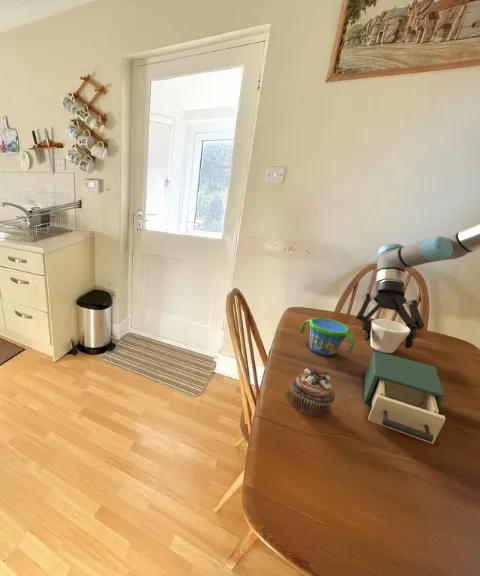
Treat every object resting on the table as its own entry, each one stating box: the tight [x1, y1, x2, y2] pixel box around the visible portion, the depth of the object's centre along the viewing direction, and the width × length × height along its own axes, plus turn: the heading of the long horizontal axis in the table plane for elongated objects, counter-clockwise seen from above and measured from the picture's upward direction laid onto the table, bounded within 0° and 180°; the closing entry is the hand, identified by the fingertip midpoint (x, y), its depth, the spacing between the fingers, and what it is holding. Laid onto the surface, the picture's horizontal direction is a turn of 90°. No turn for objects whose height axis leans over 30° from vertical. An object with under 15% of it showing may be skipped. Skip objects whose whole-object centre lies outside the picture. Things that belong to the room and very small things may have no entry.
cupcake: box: [290, 368, 336, 417], centre depth 82 cm, size 10×10×10 cm
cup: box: [370, 318, 410, 354], centre depth 107 cm, size 10×10×9 cm
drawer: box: [367, 379, 446, 445], centre depth 76 cm, size 18×11×7 cm, turn 141°
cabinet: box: [363, 350, 445, 408], centre depth 84 cm, size 15×13×9 cm
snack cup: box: [299, 317, 355, 357], centre depth 106 cm, size 16×10×10 cm
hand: (387, 343), depth 104 cm, fingers closed on cup, 10 cm apart
